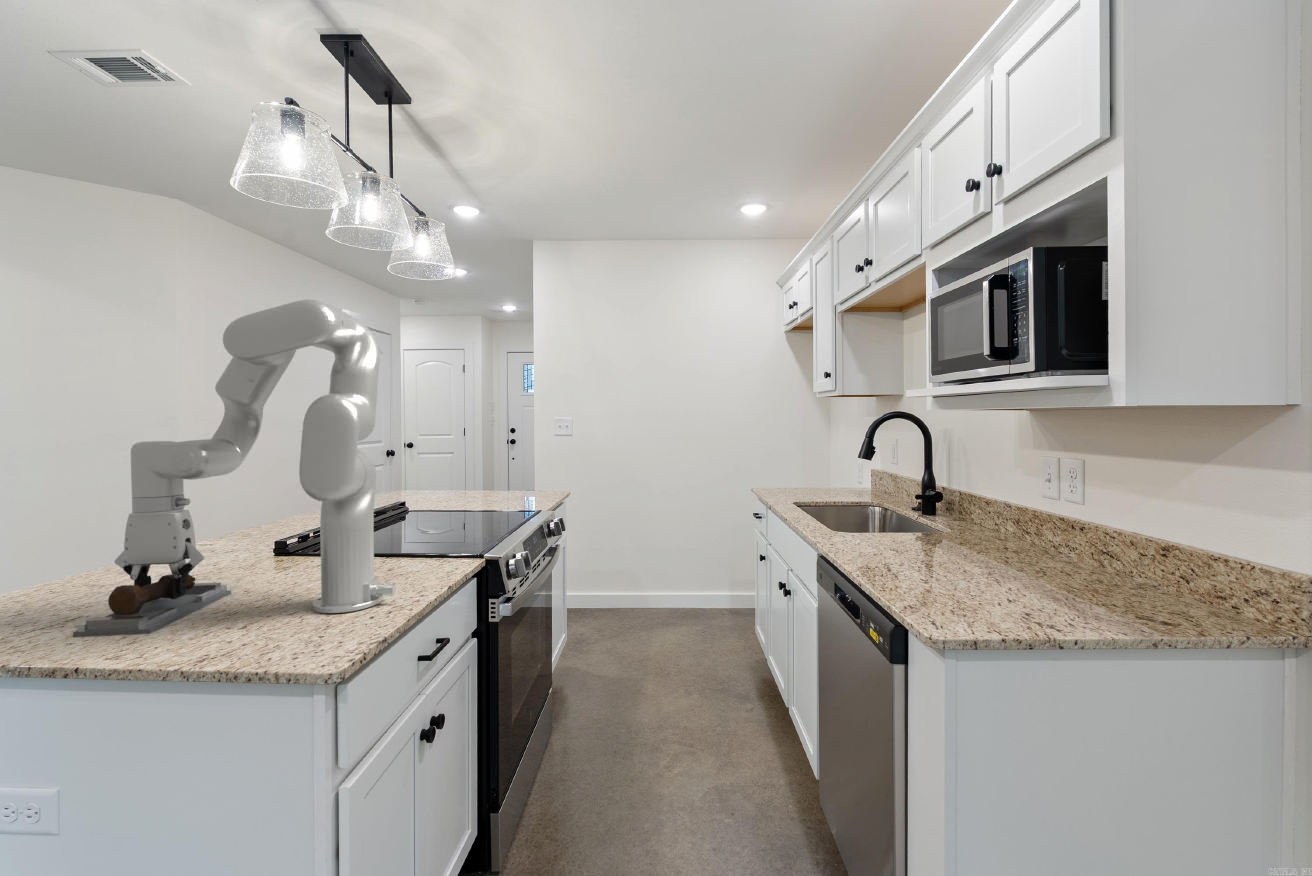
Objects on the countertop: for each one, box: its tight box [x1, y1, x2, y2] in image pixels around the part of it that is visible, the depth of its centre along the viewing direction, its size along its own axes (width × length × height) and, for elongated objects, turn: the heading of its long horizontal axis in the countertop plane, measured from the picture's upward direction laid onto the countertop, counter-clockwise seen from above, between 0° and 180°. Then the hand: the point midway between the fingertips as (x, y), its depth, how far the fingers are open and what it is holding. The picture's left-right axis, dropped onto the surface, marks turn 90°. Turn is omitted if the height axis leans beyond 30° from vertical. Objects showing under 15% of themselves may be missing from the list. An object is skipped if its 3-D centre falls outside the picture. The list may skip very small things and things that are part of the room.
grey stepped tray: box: [72, 589, 232, 638], centre depth 109 cm, size 12×23×1 cm, turn 8°
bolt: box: [107, 573, 196, 615], centre depth 109 cm, size 6×5×15 cm
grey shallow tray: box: [77, 582, 228, 632], centre depth 109 cm, size 10×23×2 cm, turn 8°
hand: (160, 596), depth 109 cm, fingers closed on bolt, 5 cm apart
